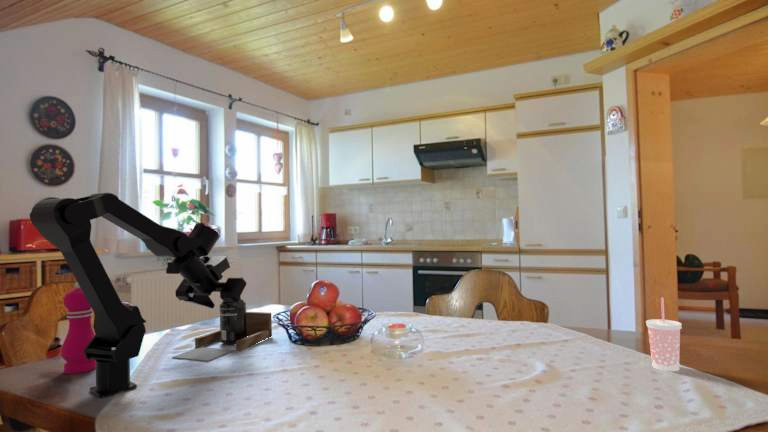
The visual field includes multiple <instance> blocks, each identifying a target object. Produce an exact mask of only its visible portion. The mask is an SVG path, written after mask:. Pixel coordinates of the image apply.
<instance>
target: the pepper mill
mask: <svg viewBox="0 0 768 432" xmlns="http://www.w3.org/2000/svg"><path fill="white" fill-rule="evenodd" d="M74 288H75V289H71V290H70V291H68V292H66V294H65V295H64V297H63V302H62V303H63V307H64V308H66V309H67V311H66V312H65V313H66V317H65V318H67V319H68V330H67V334H66V336H65V338H64V341H63V343H62V346H61V351H60V356H61V358H62V359H63V360H64V361H65V362H66V363H64V364H63V373H64V374H67V375H76V374H82V373H87V372H91V371H92V370H96V360H93V359H90V360H88V359H86V356H85V354H84V349H85V348H86V346H87V345H88V344H89V343H90V341H91V340H92V339H93V337H94V336H95V335H96V334H95V331H94V328H93V326H92V316H93V315H94V312H93V310H92V308H91V306H90V304H89V302H88V301H87V299H86V297H85V295H84V293H83V291H82V290H81V288H80V286H79V284H78V282H77V281H76V282H75V284H74Z"/></svg>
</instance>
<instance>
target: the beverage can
mask: <svg viewBox="0 0 768 432" xmlns="http://www.w3.org/2000/svg"><path fill="white" fill-rule="evenodd" d="M240 297H241V301H242V309H241V310H239V309H237V308H235V307H232V306H230V305H228V304H226V303H224V302H225V301H223V300H222V299H221V303H220V304H219V330H220V340H219V341H220V342H221V344H224V345H225V346H236V345H235V344H236V341H237V340H240V339H242V338H245V337H247V323H246V312H247V303H246V302H245V300H244V297H243V296H240Z"/></svg>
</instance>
